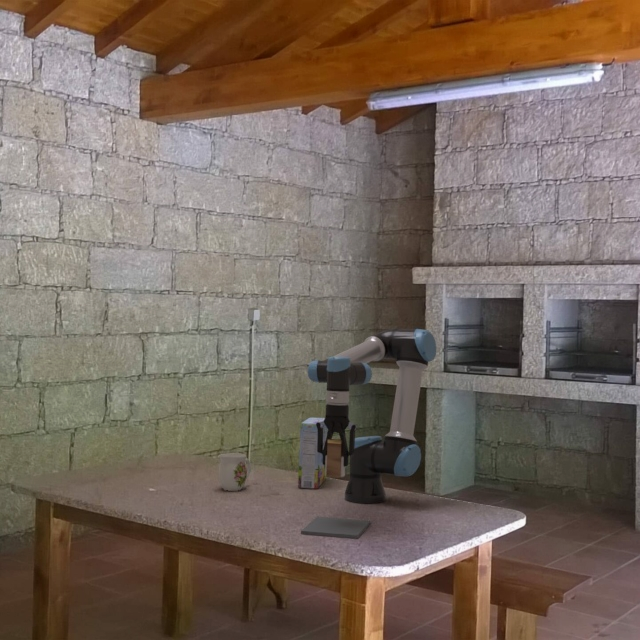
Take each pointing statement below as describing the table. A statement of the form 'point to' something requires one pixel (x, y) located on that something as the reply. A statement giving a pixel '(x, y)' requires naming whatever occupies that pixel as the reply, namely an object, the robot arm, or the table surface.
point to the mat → (336, 527)
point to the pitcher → (233, 471)
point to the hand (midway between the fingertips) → (334, 475)
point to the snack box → (311, 455)
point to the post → (334, 458)
